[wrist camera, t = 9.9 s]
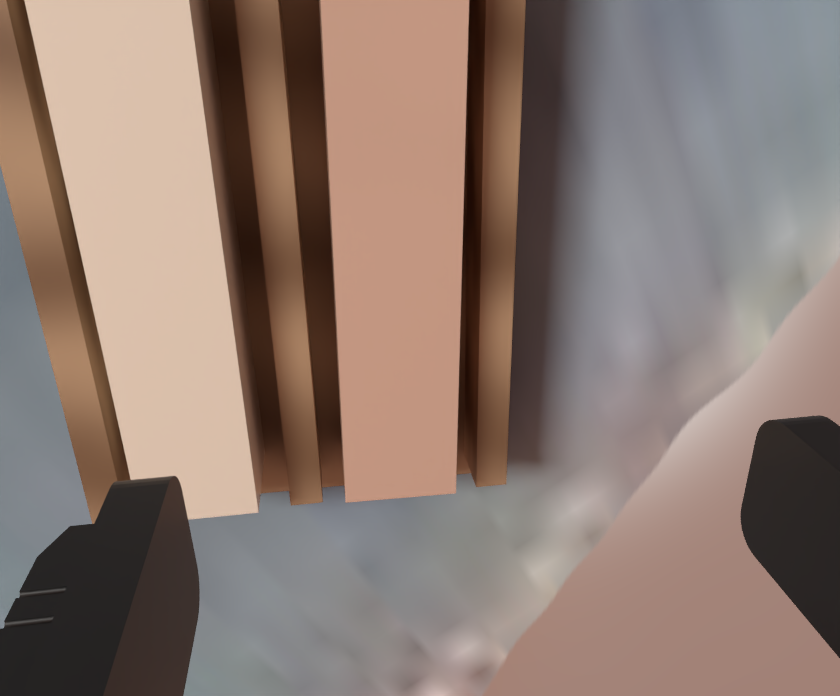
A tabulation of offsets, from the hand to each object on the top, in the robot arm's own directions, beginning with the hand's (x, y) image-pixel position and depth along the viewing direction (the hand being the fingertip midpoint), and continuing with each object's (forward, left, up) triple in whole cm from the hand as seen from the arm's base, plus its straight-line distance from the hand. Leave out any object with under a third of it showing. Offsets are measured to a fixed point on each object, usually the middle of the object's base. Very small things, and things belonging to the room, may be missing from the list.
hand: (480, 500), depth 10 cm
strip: (+1, -7, -17) cm, 18 cm away
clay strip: (+1, 0, -17) cm, 17 cm away
